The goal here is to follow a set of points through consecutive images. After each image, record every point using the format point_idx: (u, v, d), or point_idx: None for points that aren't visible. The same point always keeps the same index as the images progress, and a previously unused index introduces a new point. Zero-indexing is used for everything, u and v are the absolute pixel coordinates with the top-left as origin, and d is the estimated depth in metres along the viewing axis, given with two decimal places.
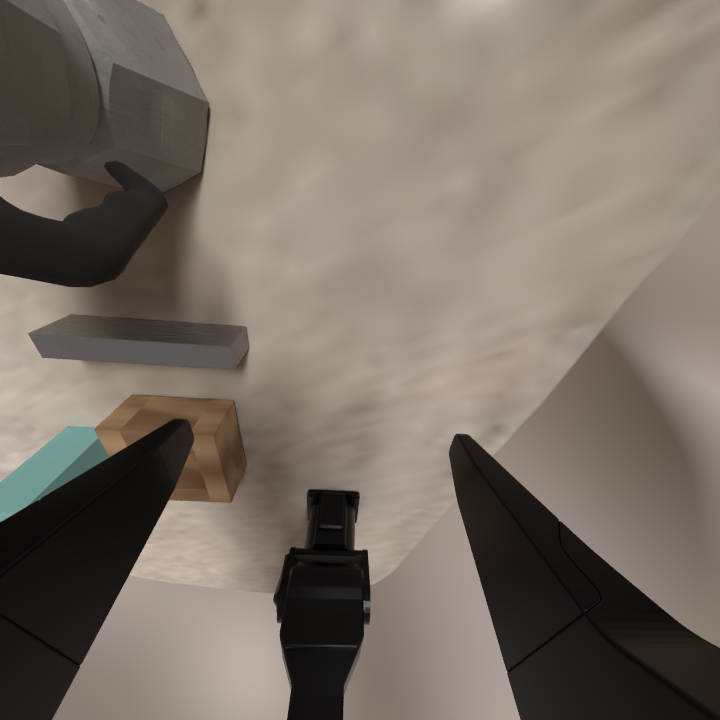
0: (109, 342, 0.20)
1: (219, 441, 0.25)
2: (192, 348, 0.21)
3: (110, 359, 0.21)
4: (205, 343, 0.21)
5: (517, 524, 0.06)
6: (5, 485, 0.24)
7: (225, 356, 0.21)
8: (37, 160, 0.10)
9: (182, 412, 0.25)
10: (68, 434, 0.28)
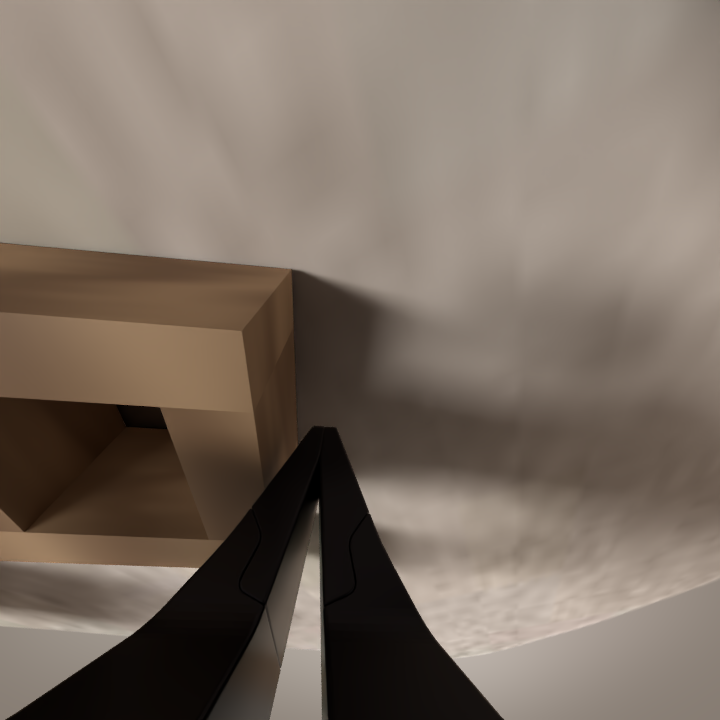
0: None
1: None
2: None
3: None
4: None
5: (320, 516, 0.06)
6: None
7: None
8: None
9: None
10: None
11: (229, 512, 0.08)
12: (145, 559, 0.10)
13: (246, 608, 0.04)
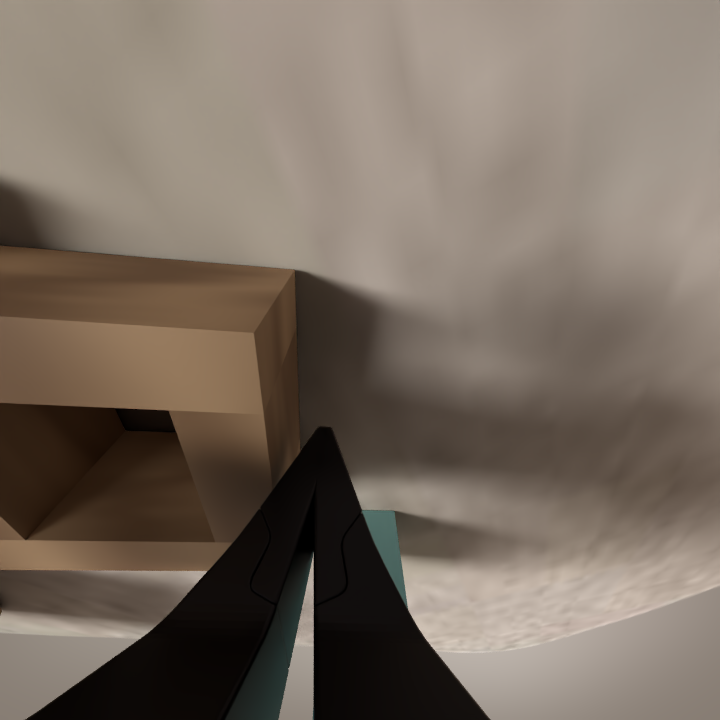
0: None
1: None
2: None
3: None
4: None
5: (313, 516, 0.06)
6: None
7: None
8: None
9: None
10: None
11: (237, 514, 0.08)
12: (149, 564, 0.10)
13: (258, 609, 0.04)
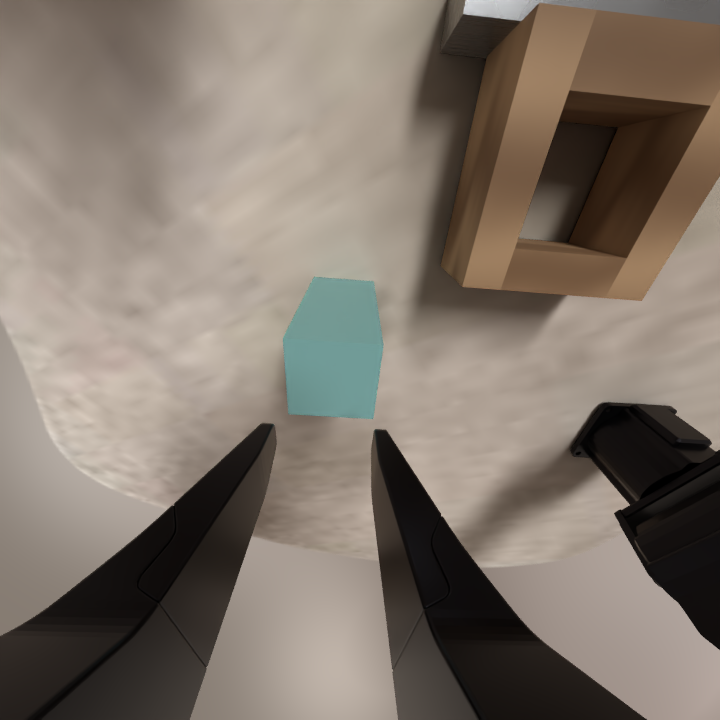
0: None
1: None
2: None
3: None
4: None
5: (395, 519, 0.06)
6: (309, 317, 0.13)
7: None
8: None
9: None
10: (325, 282, 0.18)
11: (540, 270, 0.14)
12: (500, 186, 0.12)
13: (138, 606, 0.04)
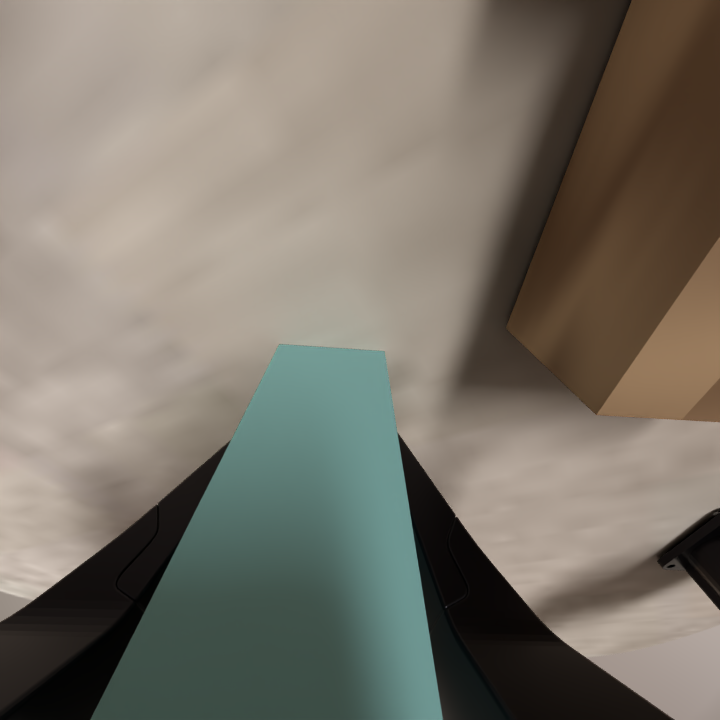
0: None
1: None
2: None
3: None
4: None
5: None
6: (225, 535, 0.05)
7: None
8: None
9: None
10: (296, 360, 0.10)
11: None
12: None
13: (115, 605, 0.04)
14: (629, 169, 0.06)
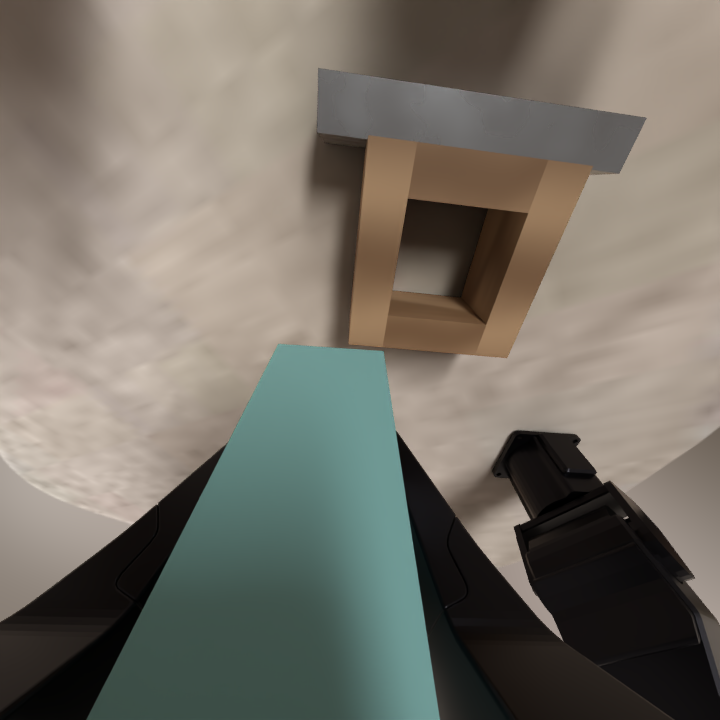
0: (449, 99, 0.12)
1: None
2: (583, 118, 0.12)
3: (430, 141, 0.12)
4: (602, 113, 0.12)
5: (410, 520, 0.06)
6: (223, 534, 0.05)
7: (625, 141, 0.12)
8: None
9: None
10: (295, 360, 0.10)
11: (413, 332, 0.16)
12: (365, 267, 0.14)
13: (115, 606, 0.04)
14: (356, 252, 0.16)
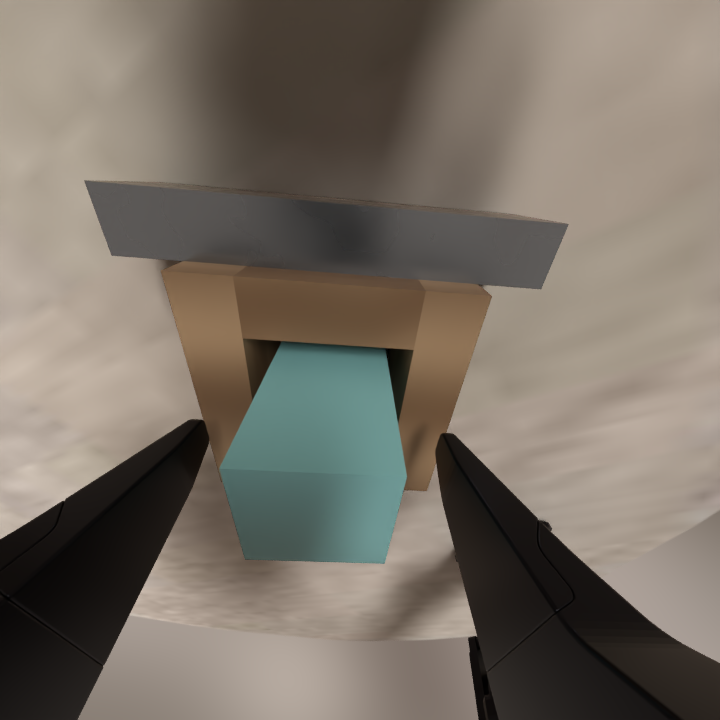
0: (281, 211, 0.08)
1: None
2: (477, 228, 0.09)
3: (270, 261, 0.09)
4: (505, 218, 0.09)
5: (495, 523, 0.06)
6: (277, 402, 0.08)
7: (542, 252, 0.09)
8: None
9: None
10: None
11: None
12: (213, 409, 0.11)
13: None
14: None
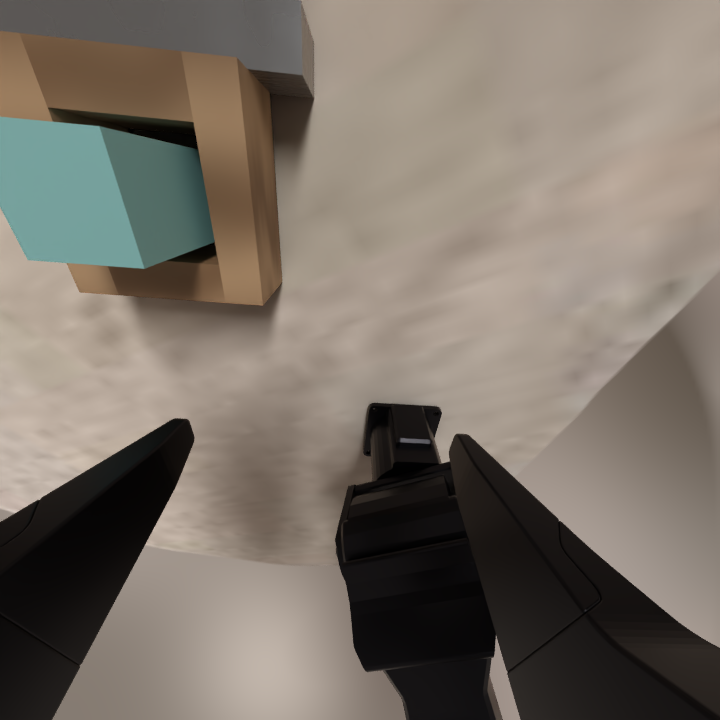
0: None
1: (247, 109, 0.12)
2: (227, 4, 0.10)
3: None
4: None
5: (517, 524, 0.06)
6: None
7: (289, 32, 0.11)
8: None
9: None
10: None
11: (143, 276, 0.14)
12: None
13: None
14: None
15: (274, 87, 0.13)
